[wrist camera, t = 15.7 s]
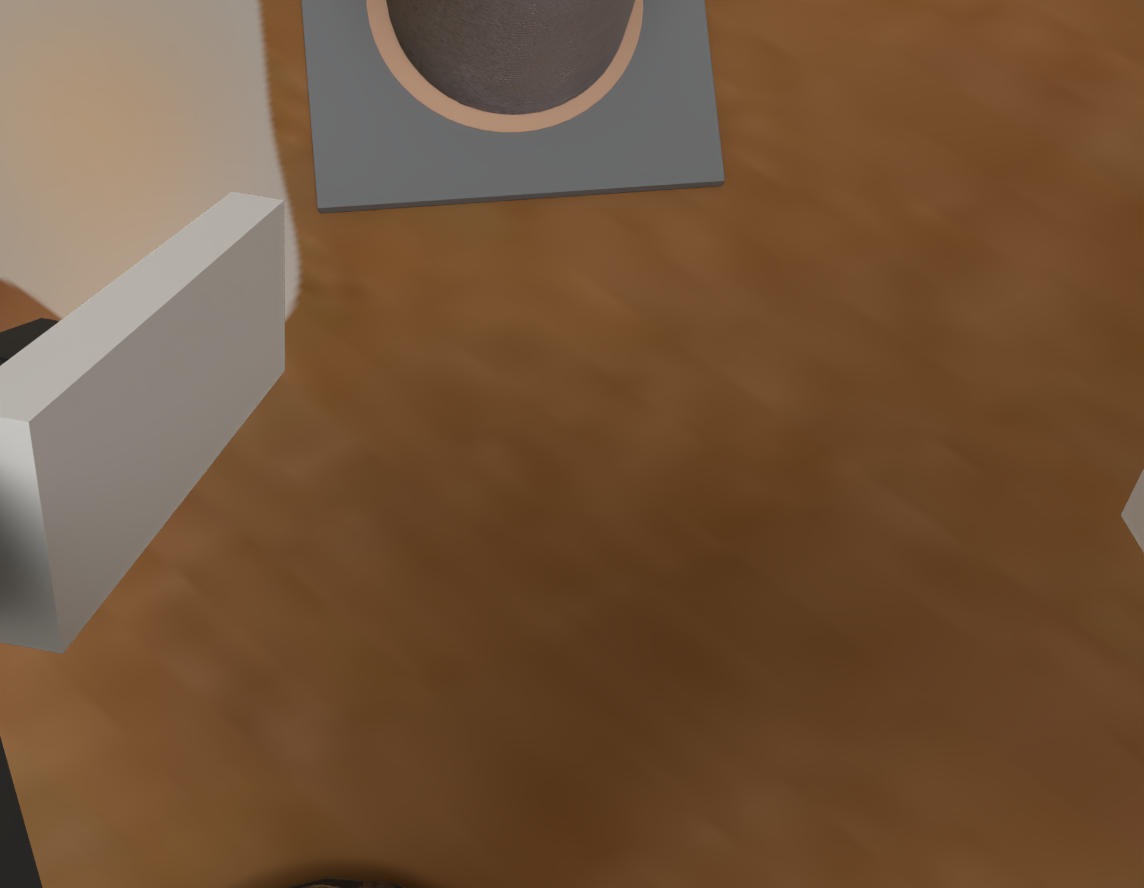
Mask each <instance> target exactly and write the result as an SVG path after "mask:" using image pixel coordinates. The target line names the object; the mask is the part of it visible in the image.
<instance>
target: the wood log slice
mask: <svg viewBox="0 0 1144 888" xmlns="http://www.w3.org/2000/svg"><path fill="white" fill-rule="evenodd" d="M286 888H405V887H402V886H400V885H398V884H395V883H387V882H374V881H362V880H349V879H337V878H323V879H319V880H315V881H311V882H307V883H303V884H299V885H295V886H291V887H286Z"/></svg>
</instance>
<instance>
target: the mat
mask: <svg viewBox="0 0 1144 888" xmlns="http://www.w3.org/2000/svg"><path fill="white" fill-rule="evenodd" d="M302 13H303V26H304V39H305V51H306V64H307V77H308V90H309V102H310V115H311V128H312V141H313V154H314V166H315V179H316V192H317V205H318V210H319V212H320V213H330V212H345V211H359V210H374V209H389V208H403V207H418V206H433V205H447V204H462V203H477V202H492V201H506V200H521V199H536V198H550V197H565V196H580V195H594V194H609V193H624V192H638V191H653V190H668V189H682V188H697V187H712V186H722V184H723V183H724V181H725V178H724V170H723V161H722V152H721V143H720V134H719V126H718V117H717V108H716V99H715V90H714V81H713V73H712V64H711V55H710V46H709V37H708V29H707V20H706V11H705V2H704V0H635V3H634V6H633V9H632V13H631V15H630V19H629V22H628V25H627V28H626V31H625V34H624V37H623V40H622V42H621V45H620V47H619V49H618V51H617V53H616V55H615V57H614V58H613V60H612V62H611V64H610V65H609V67H608V68H607V70H606V71H605V73H604V74H603V75H602V76H601V77H600V78H599V79H598V80H597V81H596V82H595V83H594V84H593V85H592V86H591V87H589V88H588V89H587V90H586V91H585V92H583V93H582V94H580V95H579V96H578V97H576V98H574V99H572V100H570V101H568V102H566V103H565V104H562V105H560V106H557V107H554V108H552V109H548V110H545V111H542V112H535V113H529V114H517V115H509V114H498V113H491V112H485V111H481V110H477V109H475V108H472V107H469V106H466V105H463V104H460V103H459V102H457V101H456V100H453V99H452V98H449V97H447V96H446V95H445V94H443V93H442V92H440V91H439V90H438V89H436V88H435V87H434V86H432V85H431V84H430V83H429V82H428V81H427V80H426V79H425V78H424V77H423V76H422V75H421V74H420V73H419V72H418V70H417V69H416V68H415V67H414V66H413V65H412V64H411V62H410V61H409V59H408V58H407V57H406V55H405V53H404V52H403V50H402V48H401V46H400V44H399V42H398V40H397V38H396V35H395V33H394V29H393V26H392V24H391V21H390V18H389V13H388V7H387V3H386V0H302Z"/></svg>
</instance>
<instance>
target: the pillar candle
mask: <svg viewBox="0 0 1144 888" xmlns="http://www.w3.org/2000/svg"><path fill="white" fill-rule="evenodd" d="M386 3H387V7H388V13H389V18H390V21H391V24H392V26H393V29H394V33H395V35H396V38H397V40H398V42H399V44H400V46H401V48H402V50H403V52H404V53H405V55H406V57H407V58H408V59H409V61H410V62H411V64H412V65H413V66H414V67H415V68H416V69H417V70H418V72H419V73H420V74H421V75H422V76H423V77H424V78H425V79H426V80H427V81H428V82H429V83H430V84H431V85H432V86H434V87H435V88H436V89H438V90H439V91H440V92H442V93H443V94H445V95H446V96H447V97H449V98H452V99H453V100H456V101H457V102H459V103H460V104H463V105H466V106H469V107H472V108H475V109H477V110H481V111H485V112H491V113H498V114H509V115H517V114H529V113H535V112H542V111H545V110H548V109H552V108H554V107H557V106H560V105H562V104H565V103H566V102H568V101H570V100H572V99H574V98H576V97H578V96H579V95H580V94H582V93H583V92H585V91H586V90H587V89H588V88H589V87H591V86H592V85H593V84H594V83H595V82H596V81H597V80H598V79H599V78H600V77H601V76H602V75H603V74H604V73H605V71H606V70H607V68H608V67H609V65H610V64H611V62H612V60H613V58H614V57H615V55H616V53H617V51H618V49H619V47H620V45H621V42H622V40H623V37H624V34H625V31H626V28H627V25H628V22H629V19H630V15H631V13H632V9H633V6H634V3H635V0H386Z"/></svg>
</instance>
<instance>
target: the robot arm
mask: <svg viewBox="0 0 1144 888" xmlns="http://www.w3.org/2000/svg"><path fill="white" fill-rule="evenodd" d="M284 295H285V292H284V200H279V199H273V198H267V197H261V196H255V195H250V194H244V193H237V192H231V193H229V194H228V195H227V196H225V197H224V198H223V199H222V200H220V201H219V202H217V203H216V204H215V205H213V206H212V207H211V208H210V209H208V210H207V211H205V212H204V213H203V214H202V215H200V216H199V217H198V218H196V219H195V220H194V221H192V222H191V223H189V224H188V225H187V226H186V227H184V228H183V229H182V230H180V231H179V232H178V233H176V234H175V235H174V236H172V237H171V238H170V239H168V240H167V241H166V242H164V243H163V244H162V245H160V246H159V247H158V248H156V249H155V250H154V251H152V252H151V253H150V254H148V255H147V256H146V257H144V258H143V259H142V260H140V261H139V262H138V263H136V264H135V265H134V266H132V267H131V268H130V269H128V270H127V271H126V272H124V273H123V274H122V275H121V276H119V277H118V278H116V279H115V280H114V281H112V282H111V283H110V284H109V285H107V286H106V287H105V288H103V289H102V290H101V291H99V292H98V293H97V294H95V295H94V296H93V297H91V298H90V299H89V300H87V301H86V302H85V303H83V304H82V305H81V306H80V307H78V308H77V309H75V310H74V311H73V312H71V313H70V314H69V315H67V316H66V317H65V318H63V319H62V320H61V321H56V320H50V319H44V318H40V319H38V320H35V321H32V322H29V323H26V324H23V325H20V326H18V327H15V328H12V329H9V330H6V331H3V332H1V333H0V643H6V644H11V645H17V646H22V647H28V648H33V649H39V650H44V651H50V652H55V653H61V654H63V653H64V652H65V650H66V649H67V648H68V647H69V645H70V644H71V643H72V641H73V640H74V639H75V638H76V636H77V635H78V634H79V633H80V631H81V630H82V629H83V627H84V626H85V625H86V624H87V622H88V621H89V620H90V619H91V617H92V616H93V615H94V613H95V612H96V611H97V610H98V608H99V607H100V606H101V604H102V603H103V602H104V601H105V599H106V598H107V597H108V596H109V594H110V593H111V592H112V590H113V589H114V588H115V587H116V585H117V584H118V583H119V582H120V580H121V579H122V578H123V576H124V575H125V574H126V573H127V571H128V570H129V569H130V568H131V566H132V565H133V564H134V562H135V561H136V560H137V559H138V557H139V556H140V555H141V553H142V552H143V551H144V550H145V548H146V547H147V546H148V545H149V543H150V542H151V541H152V539H153V538H154V537H155V536H156V534H157V533H158V532H159V531H160V529H161V528H162V527H163V525H164V524H165V523H166V522H167V520H168V519H169V518H170V517H171V515H172V514H173V513H174V511H175V510H176V509H177V508H178V506H179V505H180V504H181V502H182V501H183V500H184V499H185V497H186V496H187V495H188V494H189V492H190V491H191V490H192V488H193V487H194V486H195V485H196V483H197V482H198V481H199V480H200V478H201V477H202V476H203V474H204V473H205V472H206V471H207V469H208V468H209V467H210V465H211V464H212V463H213V462H214V460H215V459H216V458H217V457H218V455H219V454H220V453H221V451H222V450H223V449H224V448H225V446H226V445H227V444H228V443H229V441H230V440H231V439H232V437H233V436H234V435H235V434H236V432H237V431H238V430H239V429H240V427H241V426H242V425H243V423H244V422H245V421H246V420H247V418H248V417H249V416H250V414H251V413H252V412H253V411H254V409H255V408H256V407H257V406H258V404H259V403H260V402H261V400H262V399H263V398H264V397H265V395H266V394H267V393H268V392H269V390H270V389H271V388H272V386H273V385H274V384H275V383H276V381H277V380H278V379H279V378H280V376H281V375H282V374H283V372H284V371H285V299H284V298H285V296H284ZM1121 516H1122V518H1123V520H1124V521H1125V523H1126V525H1127V526H1128V528H1129V529H1130V531H1131V533H1132V534H1133V536H1134V538H1135V539H1136V541H1137V543H1138V544H1139V546H1140V547H1141V549H1142V551H1143V552H1144V469H1143V471H1142V473H1141V475H1140V477H1139V479H1138V481H1137V483H1136V485H1135V487H1134V489H1133V491H1132V493H1131V496H1130V498H1129V500H1128V502H1127V504H1126V506H1125V508H1124V510H1123V512H1122V514H1121ZM0 888H42V885H41V881H40V877H39V874H38V870H37V867H36V863H35V860H34V856H33V852H32V849H31V845H30V842H29V838H28V834H27V831H26V827H25V824H24V820H23V817H22V813H21V809H20V806H19V802H18V799H17V795H16V791H15V788H14V784H13V781H12V777H11V774H10V770H9V766H8V763H7V759H6V756H5V752H4V748H3V745H2V741H1V738H0Z"/></svg>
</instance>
